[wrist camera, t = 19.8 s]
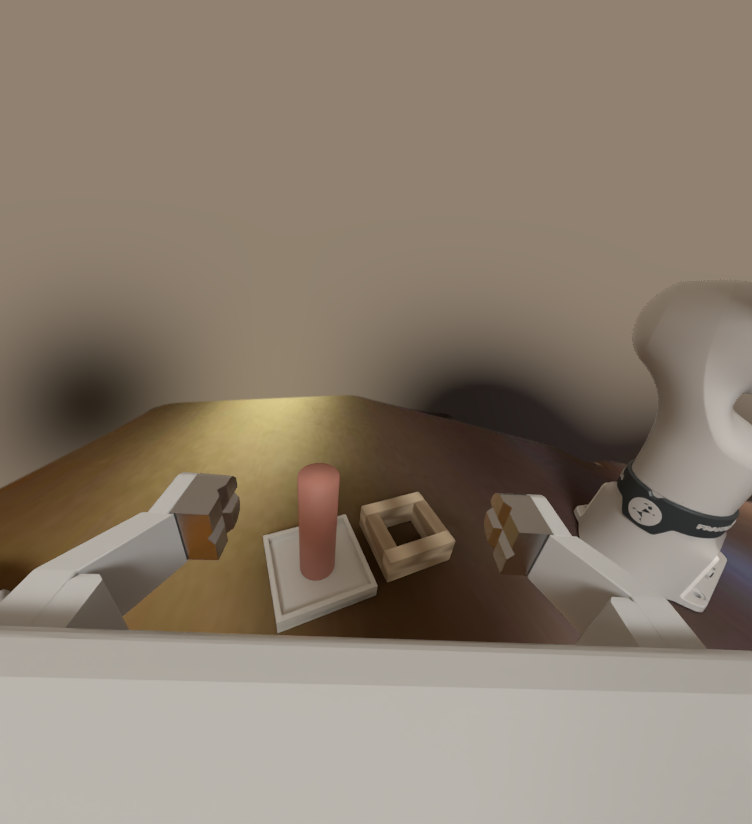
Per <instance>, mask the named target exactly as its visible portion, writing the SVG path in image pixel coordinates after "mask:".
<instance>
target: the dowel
mask: <svg viewBox="0 0 752 824" xmlns="http://www.w3.org/2000/svg"><path fill="white" fill-rule="evenodd" d="M339 480H340V475H339V472H338V470H337V469H336V468H335V467H333V466H331V465H328V464H324V463H315V464H310V465H308V466H306V467H304V468H303V469H301V470H300V472H299V473H298V515H299V556H300V571H301V573H302V575H303V576H304V577H305V578H307V579H309V580H313V581H318V580H322V579H325V578H326V577H328V576H329V575H330V574H331V573H332V571H333V569H334V565H335V548H336V531H337V514H338V497H339Z"/></svg>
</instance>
